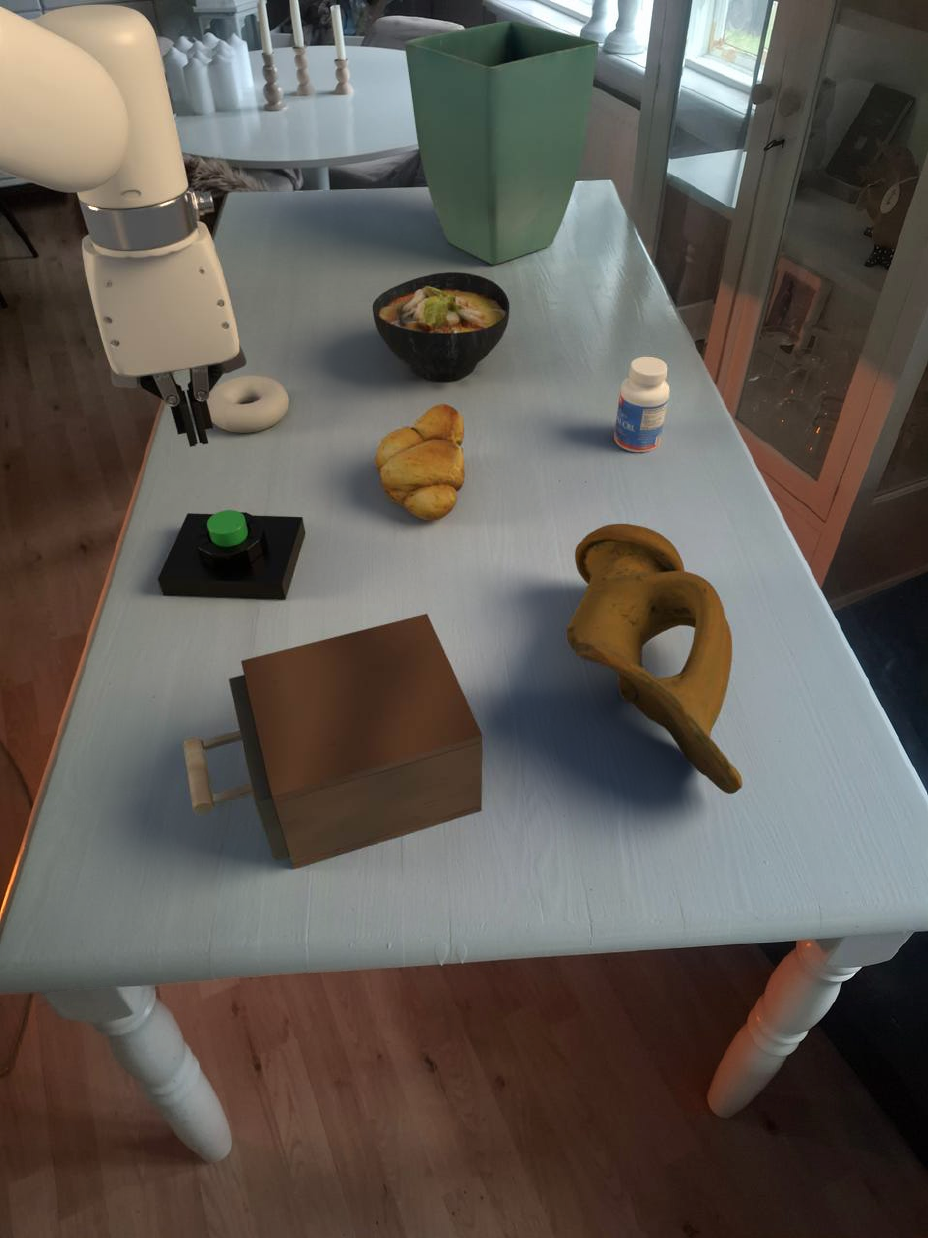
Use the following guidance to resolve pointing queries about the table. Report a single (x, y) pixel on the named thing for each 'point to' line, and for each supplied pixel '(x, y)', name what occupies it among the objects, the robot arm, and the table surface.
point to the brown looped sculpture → (643, 608)
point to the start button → (227, 528)
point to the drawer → (255, 765)
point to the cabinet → (364, 738)
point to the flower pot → (501, 131)
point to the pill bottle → (642, 405)
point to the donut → (241, 417)
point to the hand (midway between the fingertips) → (197, 436)
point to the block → (234, 560)
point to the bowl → (442, 323)
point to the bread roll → (424, 463)
